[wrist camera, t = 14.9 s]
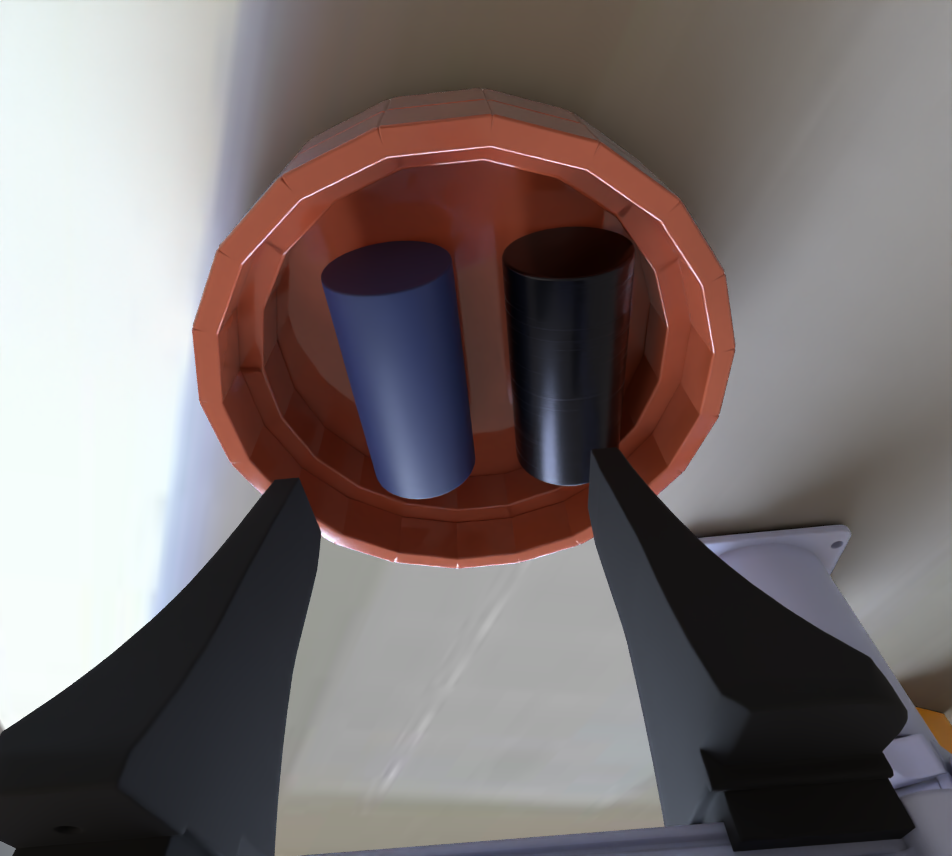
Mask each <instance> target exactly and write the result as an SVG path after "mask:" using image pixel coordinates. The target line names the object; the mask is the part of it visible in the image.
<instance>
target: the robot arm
mask: <svg viewBox="0 0 952 856" xmlns="http://www.w3.org/2000/svg"><path fill="white" fill-rule="evenodd" d="M588 511H589V516H590V521H591V526H592V531H593V536H594V540H595V545H596V548H597V551H598V554H599V557H600V560H601V563H602V566H603V569H604V572H605V575H606V578H607V581H608V584H609V587H610V590H611V593H612V596H613V599H614V602H615V605H616V608H617V611H618V614H619V617H620V620H621V623H622V627H623V630H624V634H625V637H626V640H627V644H628V649H629V653H630V657H631V662H632V666H633V671H634V675H635V679H636V684H637V689H638V693H639V698H640V702H641V707H642V712H643V716H644V721H645V726H646V731H647V736H648V741H649V746H650V751H651V756H652V761H653V766H654V771H655V776H656V782H657V787H658V793H659V798H660V803H661V809H662V814H663V820H664V825H665V827H657V828H644V829H631V830H619V831H606V832H593V833H581V834H568V835H555V836H543V837H530V838H517V839H505V840H492V841H479V842H467V843H454V844H441V845H429V846H416V847H403V848H391V849H378V850H365V851H353V852H340V853H327V854H315V855H302V856H952V754H951V753H950V752H948V751H947V750H945V749H944V748H943V747H941V746H940V744H939V743H938V741H937V740H936V738H935V737H934V735H933V734H932V732H931V731H930V729H929V728H928V726H927V724H926V723H925V721H924V720H923V718H922V717H921V715H920V714H919V712H918V711H917V709H916V707H915V706H914V704H913V703H912V701H911V700H910V698H909V697H908V695H907V694H906V692H905V691H904V689H903V687H902V686H901V684H900V683H899V681H898V680H897V678H896V677H895V675H894V674H893V672H892V670H891V669H890V667H889V666H888V664H887V663H886V661H885V660H884V658H883V657H882V655H881V654H880V652H879V650H878V649H877V647H876V646H875V644H874V643H873V641H872V640H871V638H870V637H869V635H868V634H867V632H866V630H865V629H864V627H863V626H862V624H861V623H860V621H859V620H858V618H857V617H856V615H855V613H854V612H853V610H852V609H851V607H850V606H849V604H848V603H847V601H846V600H845V598H844V597H843V595H842V593H841V592H840V590H839V589H838V587H837V586H836V584H835V583H834V581H833V580H832V578H831V576H830V575H831V573H832V571H833V569H834V567H835V565H836V563H837V561H838V560H839V558H840V556H841V554H842V552H843V550H844V548H845V546H846V545H847V543H848V541H849V539H850V537H851V534H852V533H851V531H850V530H849V529H848V527H847V526H845V525H830V526H819V527H809V528H798V529H787V530H777V531H766V532H755V533H745V534H734V535H723V536H713V537H702V538H697V537H696V536H695V535H694V534H693V533H692V532H691V531H690V530H689V529H688V528H687V527H686V526H685V525H684V524H683V523H682V522H681V521H680V520H679V519H678V518H677V517H676V516H675V515H674V514H673V513H672V512H671V511H670V510H669V509H668V507H667V506H666V505H665V504H664V503H663V502H662V501H661V500H660V499H659V498H658V497H657V495H656V494H655V493H654V492H653V491H652V490H651V489H650V487H649V486H648V485H647V484H646V483H645V482H644V480H643V479H642V478H641V477H640V476H639V474H638V473H637V472H636V471H635V469H634V468H633V467H632V466H631V464H630V463H629V462H628V460H627V459H626V458H625V456H624V455H623V454H622V452H621V451H620V450H619V449H618V448H616V447H613V448H602V449H592V450H591V457H590V475H589V493H588ZM320 539H321V530H320V528H319V525H318V523H317V520H316V518H315V515H314V513H313V511H312V508H311V506H310V503H309V501H308V498H307V496H306V493H305V491H304V488H303V486H302V484H301V481H300V479H299V477H298V478H287V479H277V480H274V481H273V483H272V484H271V485H270V486H269V487H268V489H267V490H266V491H265V492H264V494H263V495H262V496H261V498H260V499H259V500H258V501H257V503H256V504H255V505H254V506H253V508H252V509H251V510H250V512H249V513H248V514H247V515H246V517H245V518H244V519H243V521H242V522H241V523H240V524H239V526H238V527H237V528H236V529H235V531H234V532H233V533H232V534H231V535H230V537H229V538H228V539H227V540H226V542H225V543H224V544H223V545H222V546H221V548H220V549H219V550H218V551H217V552H216V554H215V555H214V556H213V557H212V558H211V559H210V560H209V562H208V563H207V564H206V565H205V566H204V567H203V568H202V569H201V570H200V572H199V573H198V574H197V575H196V576H195V577H194V578H193V579H192V581H191V582H190V583H189V584H188V585H187V586H186V587H185V588H184V589H183V590H182V591H181V592H180V593H179V594H178V595H177V596H176V597H175V598H174V599H173V600H172V601H171V602H170V603H169V604H168V605H167V606H166V607H165V608H164V609H162V610H161V611H160V612H159V613H158V614H157V615H156V616H155V617H154V618H153V619H152V620H151V621H150V622H148V623H147V624H146V625H145V626H144V627H143V628H141V629H140V630H139V631H138V632H137V633H136V634H134V635H133V636H132V637H131V638H130V639H129V640H127V641H126V642H125V643H124V644H123V645H122V646H120V647H119V648H118V649H117V650H116V651H115V652H113V653H112V654H111V655H110V656H108V657H107V658H106V659H105V660H103V661H102V662H101V663H99V664H98V665H97V666H96V667H94V668H93V669H92V670H91V671H89V672H88V673H86V674H85V675H84V676H82V677H81V678H80V679H78V680H77V681H76V682H74V683H73V684H72V685H70V686H69V687H68V688H66V689H65V690H63V691H62V692H61V693H59V694H58V695H56V696H55V697H54V698H52V699H51V700H49V701H48V702H46V703H45V704H43V705H42V706H40V707H39V708H37V709H36V710H34V711H33V712H31V713H30V714H28V715H27V716H25V717H24V718H22V719H21V720H20V721H18V722H17V723H15V724H14V725H12V726H10V727H9V728H7V729H6V730H4V731H3V732H2V733H1V734H0V841H2V842H4V843H6V844H8V845H10V846H12V847H14V848H16V850H15V852H14V854H13V856H274V853H275V836H276V822H277V807H278V794H279V783H280V772H281V762H282V751H283V743H284V734H285V726H286V718H287V709H288V702H289V695H290V688H291V681H292V674H293V669H294V664H295V659H296V654H297V650H298V646H299V642H300V638H301V634H302V630H303V626H304V622H305V618H306V614H307V610H308V606H309V602H310V598H311V593H312V589H313V585H314V581H315V577H316V572H317V566H318V558H319V550H320Z"/></svg>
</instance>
